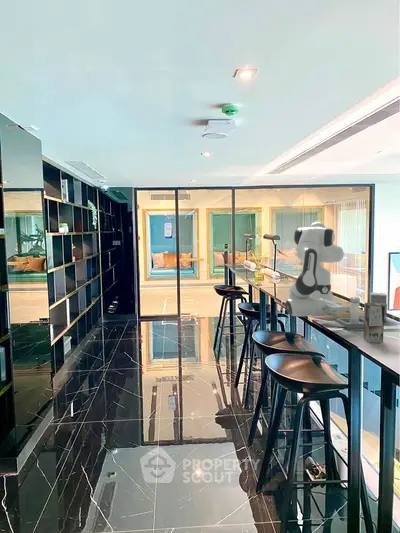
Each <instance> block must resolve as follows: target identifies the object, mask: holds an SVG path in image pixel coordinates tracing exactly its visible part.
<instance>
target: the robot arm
mask: <svg viewBox="0 0 400 533" xmlns="http://www.w3.org/2000/svg"><path fill="white" fill-rule="evenodd" d="M335 238H336V236H335V232H334V229H332V228H330V227H326V225H325V224H324V223H323V222H321V221H315V222H312V223H310V225H309V226H308V227H307V226H306V227H303V226H301V227H298V228H296V229H295V231H294V233H293V241H294V243H295V244H296V245H297V249H296V257H297V259H298V260H300V261H301V262H303V263H302V269H301V270H302V271H301V273H300V275H299V276H298V277H297V278H296V280H295V281H294V282H293V283H292V284H291V286H290V287H289V291H288V297H287V299H286V301H285V309H286V312H287V314H288V315H289V316H292V317H308V316H311V317H323V316H324V315H325V314H330V315H335V314H345V311H347V310H351V305H346V306H345V305H342V302H334V296H333V292H332V291H331V290H332V285H331V272H330V270H329V269H327V268H326V267H324V266H322V263H328V264H329V263H331V264H332V263H340V262H341V261H342V260H343V258H344V256H345V255H344V254H345V253H344V250H343V248H342V247H341V246H340V245H337V244H335V243H334V242H335Z"/></svg>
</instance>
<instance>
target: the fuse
mask: <svg viewBox="0 0 400 533" xmlns="http://www.w3.org/2000/svg"><path fill="white" fill-rule="evenodd" d="M360 300H361V298H360V297H356V296H351V297H350V300H349V301H350V307H351V310H350V322H349V323H360V321H359V318H360V303H361V301H360Z"/></svg>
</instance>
